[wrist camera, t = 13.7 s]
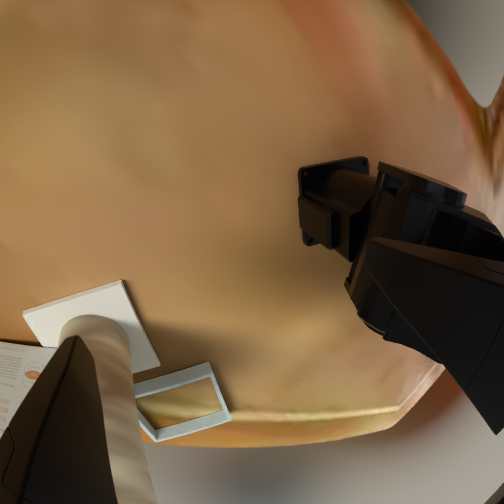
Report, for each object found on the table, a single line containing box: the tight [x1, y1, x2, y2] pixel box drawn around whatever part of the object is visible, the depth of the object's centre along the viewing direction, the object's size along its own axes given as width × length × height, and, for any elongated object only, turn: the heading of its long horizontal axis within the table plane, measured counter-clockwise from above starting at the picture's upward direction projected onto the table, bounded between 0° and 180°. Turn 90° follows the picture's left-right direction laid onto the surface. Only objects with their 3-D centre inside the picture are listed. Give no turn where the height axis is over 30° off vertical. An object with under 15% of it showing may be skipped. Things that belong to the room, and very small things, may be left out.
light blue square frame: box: [134, 362, 232, 442], centre depth 28 cm, size 9×9×2 cm
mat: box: [23, 280, 161, 374], centre depth 21 cm, size 9×9×1 cm
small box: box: [0, 342, 57, 438], centre depth 14 cm, size 8×6×13 cm
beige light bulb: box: [57, 315, 157, 504], centre depth 15 cm, size 6×6×14 cm
